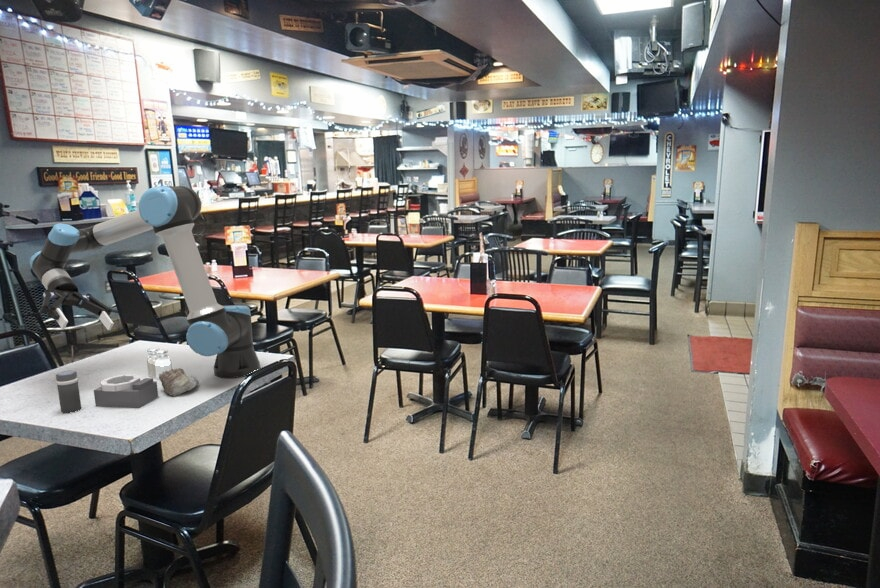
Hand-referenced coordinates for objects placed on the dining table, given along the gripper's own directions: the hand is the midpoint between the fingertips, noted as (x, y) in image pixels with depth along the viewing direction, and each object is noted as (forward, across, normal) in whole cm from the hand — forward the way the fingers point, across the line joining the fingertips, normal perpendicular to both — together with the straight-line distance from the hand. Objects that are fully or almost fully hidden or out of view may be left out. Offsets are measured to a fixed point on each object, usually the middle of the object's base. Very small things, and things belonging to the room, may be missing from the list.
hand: (88, 326), depth 174 cm
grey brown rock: (+24, -22, -7) cm, 33 cm away
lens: (+15, +4, -19) cm, 25 cm away
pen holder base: (+21, -8, -12) cm, 25 cm away
